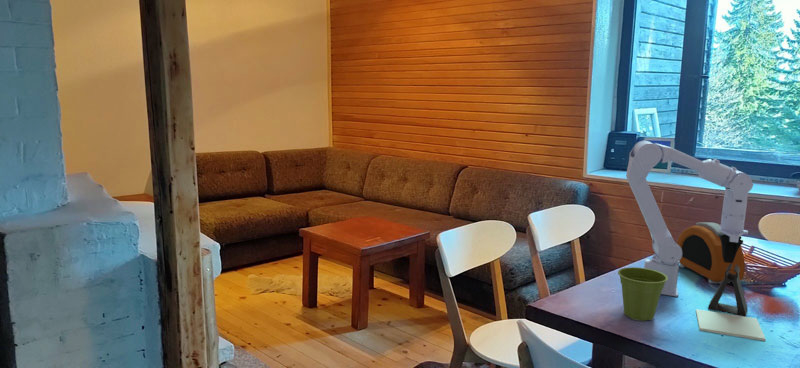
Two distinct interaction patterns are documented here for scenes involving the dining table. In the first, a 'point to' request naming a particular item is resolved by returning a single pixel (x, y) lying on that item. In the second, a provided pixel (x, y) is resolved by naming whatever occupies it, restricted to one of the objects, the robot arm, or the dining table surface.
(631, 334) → the dining table surface
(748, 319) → the mat
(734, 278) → the phone stand
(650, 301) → the plant pot
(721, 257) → the orange tape measure
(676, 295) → the robot arm
